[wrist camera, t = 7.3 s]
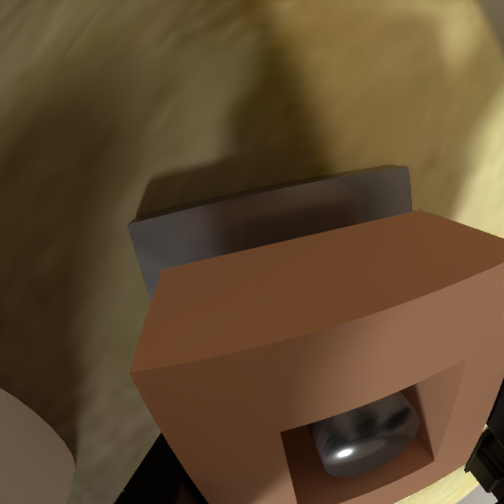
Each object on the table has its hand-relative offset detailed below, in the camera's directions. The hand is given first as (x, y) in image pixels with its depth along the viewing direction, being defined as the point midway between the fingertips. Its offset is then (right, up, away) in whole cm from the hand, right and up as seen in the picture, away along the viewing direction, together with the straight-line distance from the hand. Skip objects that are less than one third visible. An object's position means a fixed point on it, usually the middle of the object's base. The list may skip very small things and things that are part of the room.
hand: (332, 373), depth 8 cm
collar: (0, 0, +1) cm, 1 cm away
